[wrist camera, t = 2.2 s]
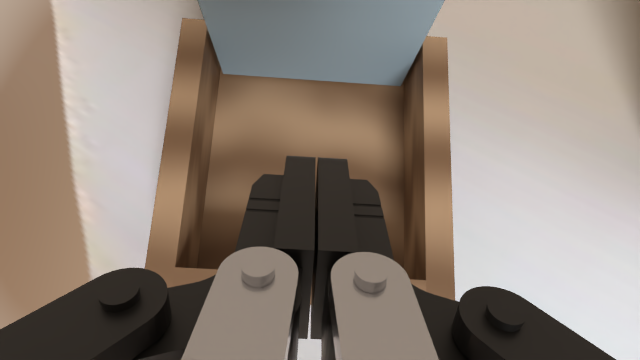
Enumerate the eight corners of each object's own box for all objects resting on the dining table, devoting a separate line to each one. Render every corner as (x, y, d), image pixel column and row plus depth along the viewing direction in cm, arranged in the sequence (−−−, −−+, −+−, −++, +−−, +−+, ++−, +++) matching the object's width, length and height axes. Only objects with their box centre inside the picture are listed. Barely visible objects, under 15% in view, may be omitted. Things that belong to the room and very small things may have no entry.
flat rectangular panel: (400, 86, 31) (446, -4, 22) (223, 73, 31) (189, -24, 21) (400, 58, 32) (445, -41, 22) (226, 46, 31) (195, -61, 22)
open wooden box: (419, 306, 30) (455, 311, 23) (177, 294, 29) (140, 296, 22) (417, 87, 34) (447, 37, 27) (205, 72, 33) (182, 18, 27)
